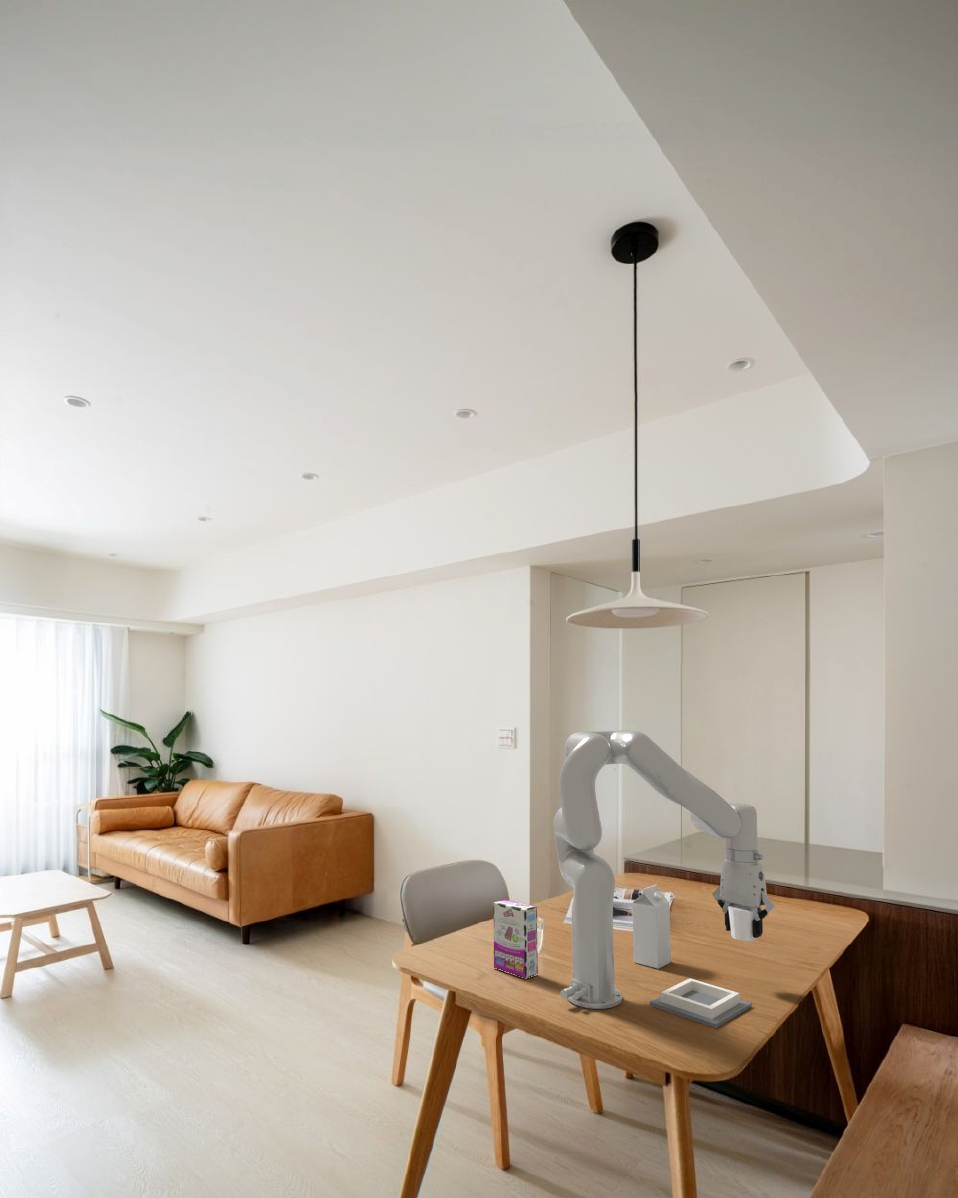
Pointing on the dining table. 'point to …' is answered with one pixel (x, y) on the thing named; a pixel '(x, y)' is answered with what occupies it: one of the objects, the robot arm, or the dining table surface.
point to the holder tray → (701, 1002)
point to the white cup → (741, 922)
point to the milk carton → (651, 929)
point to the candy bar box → (515, 938)
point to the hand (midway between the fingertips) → (743, 932)
